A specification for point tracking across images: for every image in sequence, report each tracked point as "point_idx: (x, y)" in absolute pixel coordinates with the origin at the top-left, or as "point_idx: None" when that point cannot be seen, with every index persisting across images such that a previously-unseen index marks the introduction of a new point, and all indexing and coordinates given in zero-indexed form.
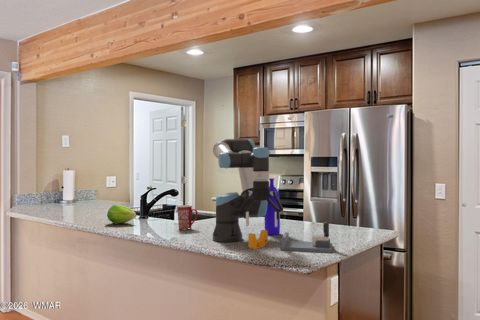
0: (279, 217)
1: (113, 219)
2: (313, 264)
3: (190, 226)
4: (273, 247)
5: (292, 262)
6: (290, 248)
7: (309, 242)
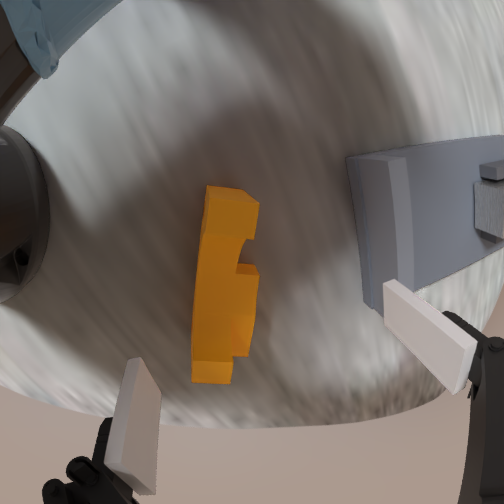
0: (457, 319)
1: None
2: None
3: None
4: (314, 268)
5: (411, 397)
6: None
7: (458, 157)
